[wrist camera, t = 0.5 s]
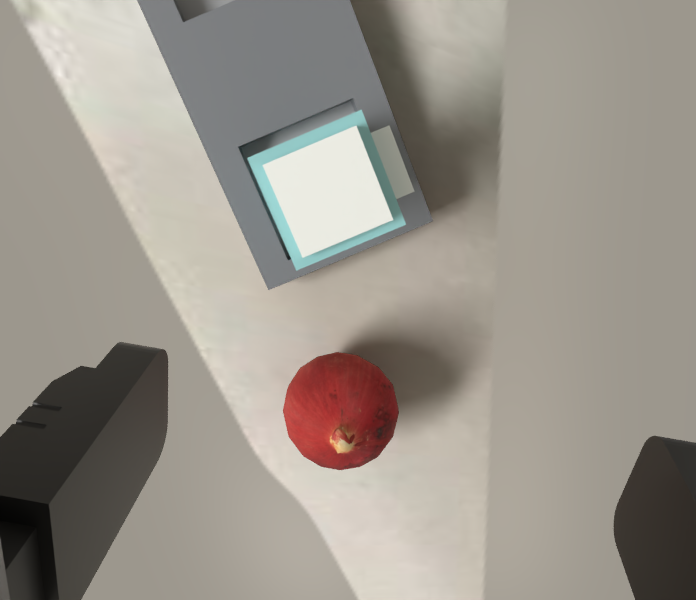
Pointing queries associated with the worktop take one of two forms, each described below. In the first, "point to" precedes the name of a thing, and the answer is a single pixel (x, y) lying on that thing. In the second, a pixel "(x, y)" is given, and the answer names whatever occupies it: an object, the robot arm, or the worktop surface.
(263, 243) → the panel
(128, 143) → the worktop surface
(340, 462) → the onion
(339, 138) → the plug
